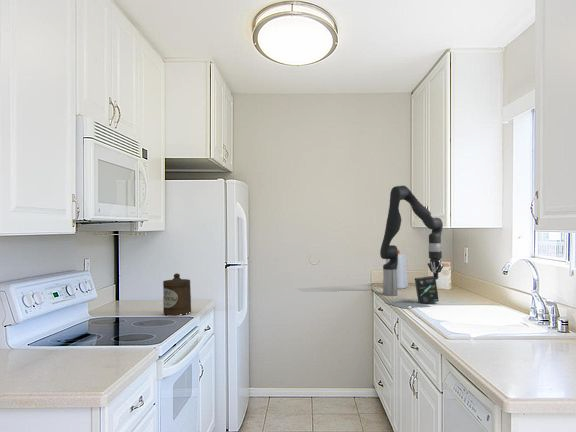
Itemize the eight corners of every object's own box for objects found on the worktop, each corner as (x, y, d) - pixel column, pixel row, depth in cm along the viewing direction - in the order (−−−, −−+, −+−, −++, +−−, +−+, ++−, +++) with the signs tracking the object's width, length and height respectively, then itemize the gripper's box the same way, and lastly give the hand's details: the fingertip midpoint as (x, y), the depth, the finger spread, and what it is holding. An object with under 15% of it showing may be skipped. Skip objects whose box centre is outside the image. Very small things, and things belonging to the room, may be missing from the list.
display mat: (383, 302, 281) (383, 302, 281) (408, 300, 286) (408, 300, 286) (404, 308, 260) (404, 308, 260) (430, 306, 265) (430, 306, 265)
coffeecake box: (451, 288, 338) (451, 261, 338) (449, 289, 332) (448, 262, 332) (430, 287, 346) (430, 261, 346) (428, 288, 340) (427, 262, 340)
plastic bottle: (382, 288, 345) (382, 250, 345) (390, 286, 357) (390, 249, 358) (402, 289, 336) (401, 251, 337) (409, 287, 348) (409, 250, 349)
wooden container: (158, 313, 255) (158, 273, 255) (181, 310, 265) (181, 271, 266) (172, 317, 244) (172, 275, 245) (196, 313, 255) (195, 273, 255)
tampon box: (435, 299, 282) (432, 275, 283) (439, 301, 273) (435, 276, 274) (417, 301, 283) (414, 277, 284) (420, 303, 274) (416, 278, 275)
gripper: (423, 250, 285) (424, 278, 285) (436, 251, 273) (437, 280, 273) (433, 249, 288) (434, 277, 287) (447, 250, 275) (448, 280, 275)
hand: (435, 279), depth 280 cm, fingers closed
